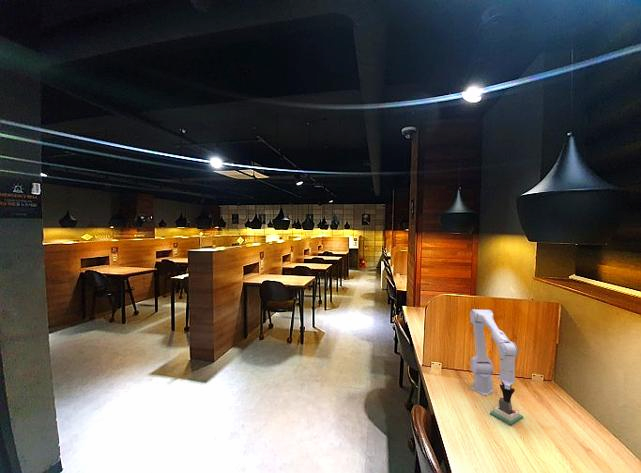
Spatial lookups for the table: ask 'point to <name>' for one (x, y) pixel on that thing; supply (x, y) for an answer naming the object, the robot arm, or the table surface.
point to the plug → (506, 406)
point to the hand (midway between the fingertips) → (506, 397)
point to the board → (506, 419)
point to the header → (505, 415)
